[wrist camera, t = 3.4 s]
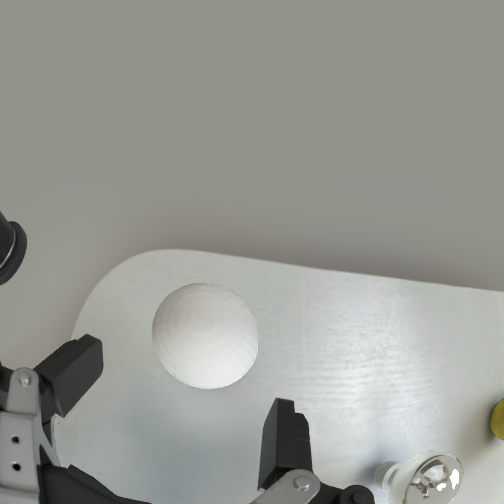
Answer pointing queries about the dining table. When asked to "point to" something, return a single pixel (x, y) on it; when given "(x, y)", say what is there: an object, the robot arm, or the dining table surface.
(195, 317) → the lollipop
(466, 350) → the dining table surface
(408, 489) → the light bulb
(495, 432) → the flower pot
